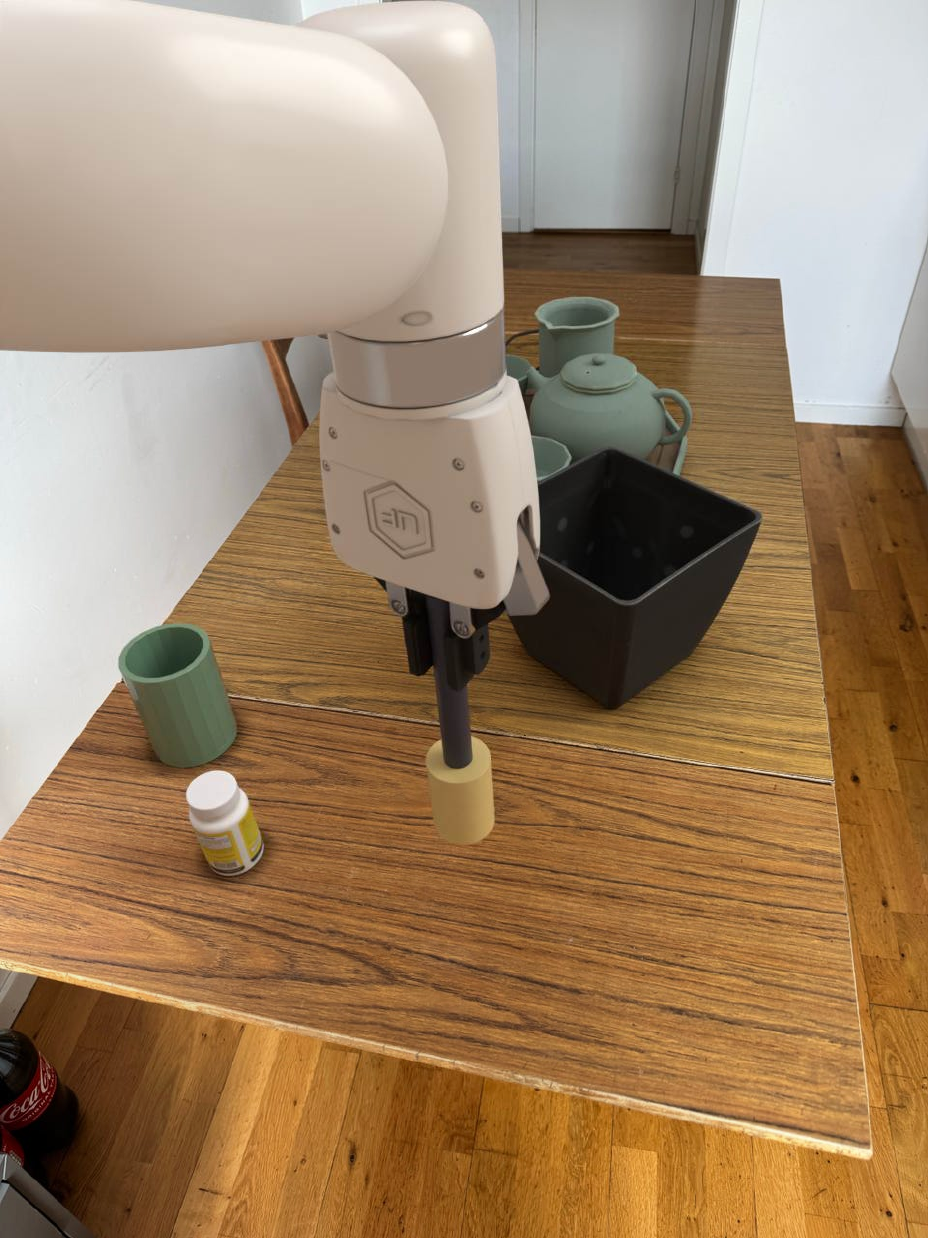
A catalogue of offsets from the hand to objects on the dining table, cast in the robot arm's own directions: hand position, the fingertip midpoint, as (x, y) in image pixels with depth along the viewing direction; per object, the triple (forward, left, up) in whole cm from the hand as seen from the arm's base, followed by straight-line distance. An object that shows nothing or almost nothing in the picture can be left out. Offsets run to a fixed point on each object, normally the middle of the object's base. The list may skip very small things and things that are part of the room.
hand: (449, 666), depth 50 cm
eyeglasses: (+105, -10, -28) cm, 109 cm away
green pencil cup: (+22, +28, -28) cm, 45 cm away
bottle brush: (0, 0, -14) cm, 14 cm away
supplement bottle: (+8, +21, -28) cm, 36 cm away
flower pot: (+32, -13, -28) cm, 45 cm away
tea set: (+71, -7, -28) cm, 77 cm away
